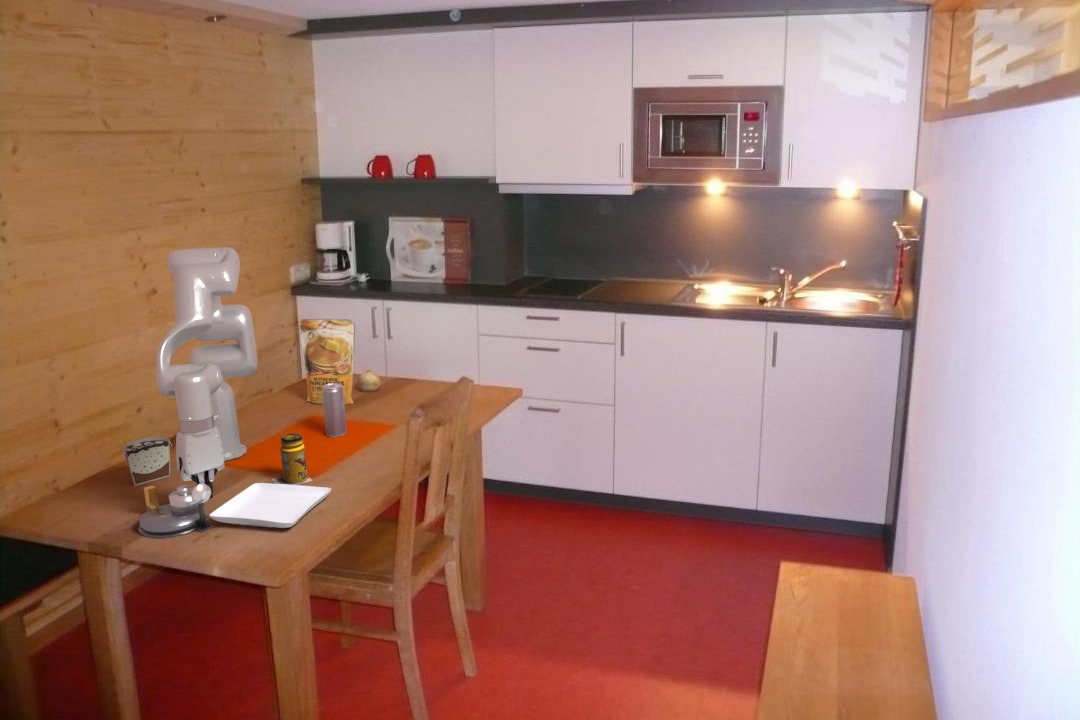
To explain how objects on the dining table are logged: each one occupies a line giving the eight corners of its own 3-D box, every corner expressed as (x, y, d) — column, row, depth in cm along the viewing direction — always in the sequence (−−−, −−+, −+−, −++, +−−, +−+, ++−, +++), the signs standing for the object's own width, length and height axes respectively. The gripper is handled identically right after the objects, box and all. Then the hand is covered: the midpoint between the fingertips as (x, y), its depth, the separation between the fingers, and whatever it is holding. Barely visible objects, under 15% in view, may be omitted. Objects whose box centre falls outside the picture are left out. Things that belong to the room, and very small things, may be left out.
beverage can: (327, 431, 274) (323, 383, 271) (347, 430, 275) (343, 382, 271) (324, 438, 268) (320, 389, 265) (345, 437, 269) (341, 388, 265)
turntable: (122, 520, 213) (118, 495, 211) (178, 501, 223) (175, 477, 222) (159, 540, 202) (155, 514, 200) (217, 519, 212) (214, 494, 210)
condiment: (313, 481, 236) (308, 437, 233) (280, 488, 231) (275, 443, 228) (303, 472, 242) (299, 429, 239) (271, 480, 237) (266, 436, 234)
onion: (385, 389, 318) (384, 369, 316) (367, 394, 312) (365, 374, 311) (372, 385, 323) (370, 366, 322) (353, 390, 318) (351, 371, 316)
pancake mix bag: (309, 398, 310) (302, 317, 303) (362, 400, 306) (355, 318, 299) (300, 403, 304) (292, 321, 297) (353, 406, 299) (346, 322, 293)
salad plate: (334, 499, 224) (333, 485, 224) (293, 535, 204) (291, 521, 204) (256, 494, 229) (254, 481, 228) (208, 529, 209) (206, 515, 208)
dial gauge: (191, 530, 208) (185, 485, 205) (209, 523, 211) (203, 479, 208) (198, 533, 206) (192, 488, 203) (216, 527, 209) (210, 482, 207)
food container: (166, 468, 247) (161, 433, 245) (175, 474, 243) (171, 438, 241) (119, 481, 239) (114, 445, 237) (128, 487, 235) (123, 450, 232)
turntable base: (126, 527, 211) (126, 525, 211) (187, 506, 222) (187, 504, 222) (158, 544, 201) (158, 542, 201) (220, 521, 212) (220, 519, 212)
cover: (165, 510, 213) (162, 488, 212) (191, 502, 218) (188, 480, 216) (179, 517, 209) (176, 494, 208) (205, 508, 214) (202, 486, 212)
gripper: (217, 413, 220) (225, 484, 225) (158, 429, 209) (168, 504, 214) (234, 418, 216) (242, 491, 220) (175, 435, 205) (185, 512, 209)
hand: (206, 497), depth 217 cm, fingers closed
